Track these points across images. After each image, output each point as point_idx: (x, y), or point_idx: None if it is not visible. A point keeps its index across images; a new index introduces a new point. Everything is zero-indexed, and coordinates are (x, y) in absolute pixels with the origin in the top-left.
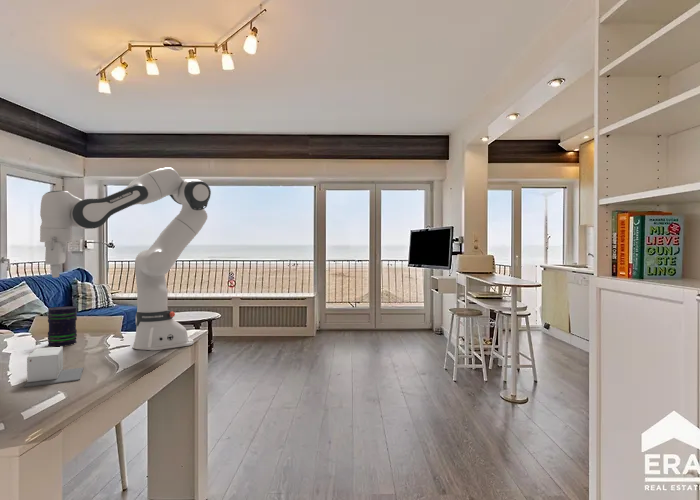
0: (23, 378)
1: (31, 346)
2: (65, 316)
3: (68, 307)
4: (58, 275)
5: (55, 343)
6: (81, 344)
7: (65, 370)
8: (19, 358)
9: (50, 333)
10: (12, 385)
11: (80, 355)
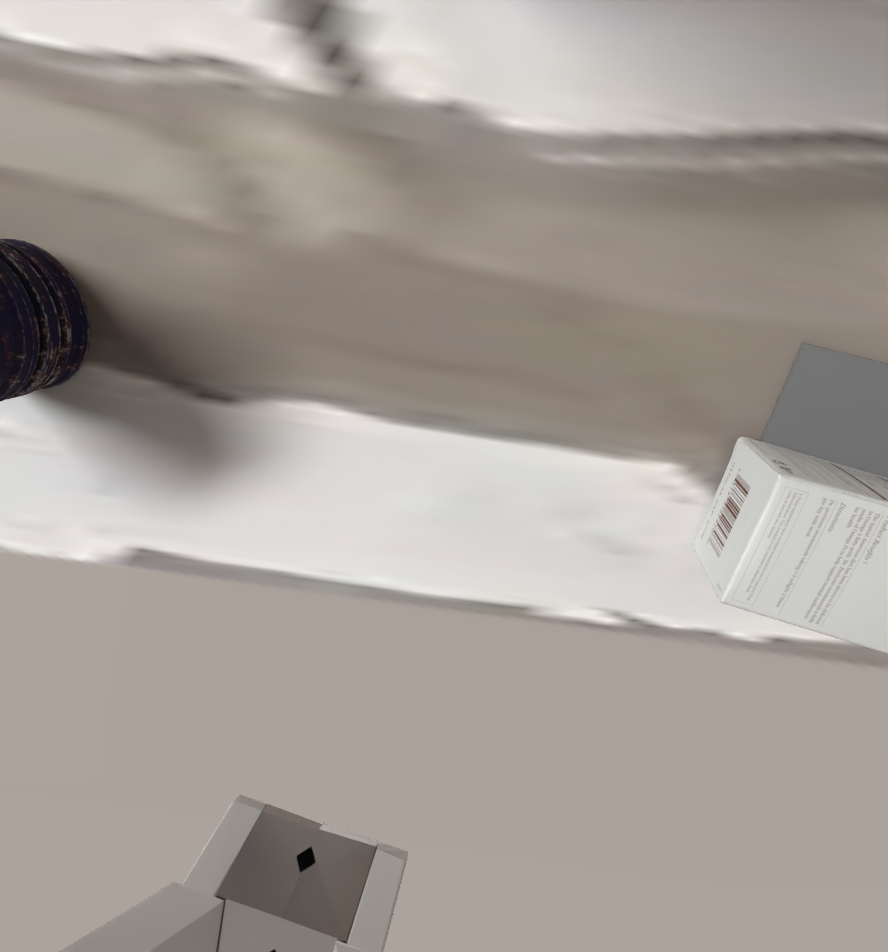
0: None
1: (16, 455)
2: None
3: None
4: (391, 872)
5: (67, 362)
6: (89, 223)
7: (792, 431)
8: (289, 540)
9: (1, 396)
10: None
11: (419, 288)
